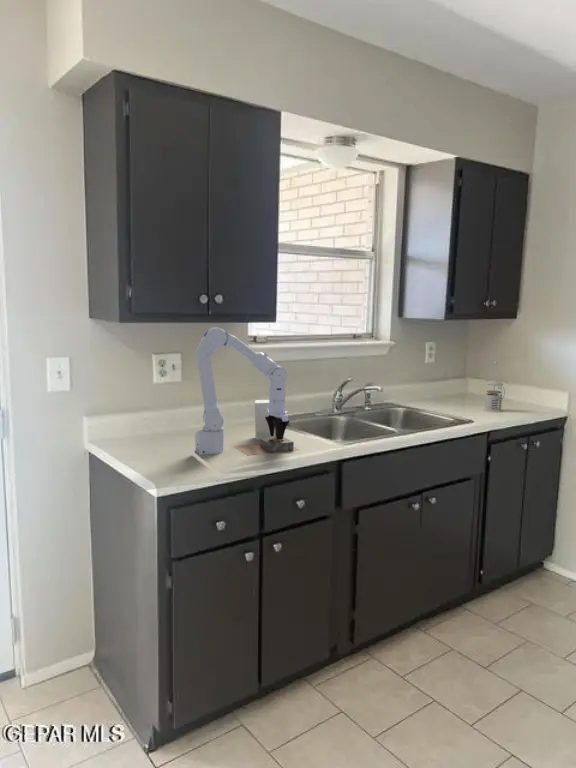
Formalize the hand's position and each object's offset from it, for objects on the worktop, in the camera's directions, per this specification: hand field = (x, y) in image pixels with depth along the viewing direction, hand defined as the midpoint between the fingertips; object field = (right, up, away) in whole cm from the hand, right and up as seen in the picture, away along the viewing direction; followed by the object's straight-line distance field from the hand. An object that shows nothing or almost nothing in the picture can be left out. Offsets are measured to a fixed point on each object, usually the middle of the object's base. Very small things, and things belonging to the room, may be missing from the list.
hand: (276, 437), depth 210 cm
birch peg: (0, -4, 0) cm, 4 cm away
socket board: (-4, -5, +1) cm, 6 cm away
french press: (+109, +5, +90) cm, 142 cm away
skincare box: (-5, -3, +17) cm, 18 cm away
